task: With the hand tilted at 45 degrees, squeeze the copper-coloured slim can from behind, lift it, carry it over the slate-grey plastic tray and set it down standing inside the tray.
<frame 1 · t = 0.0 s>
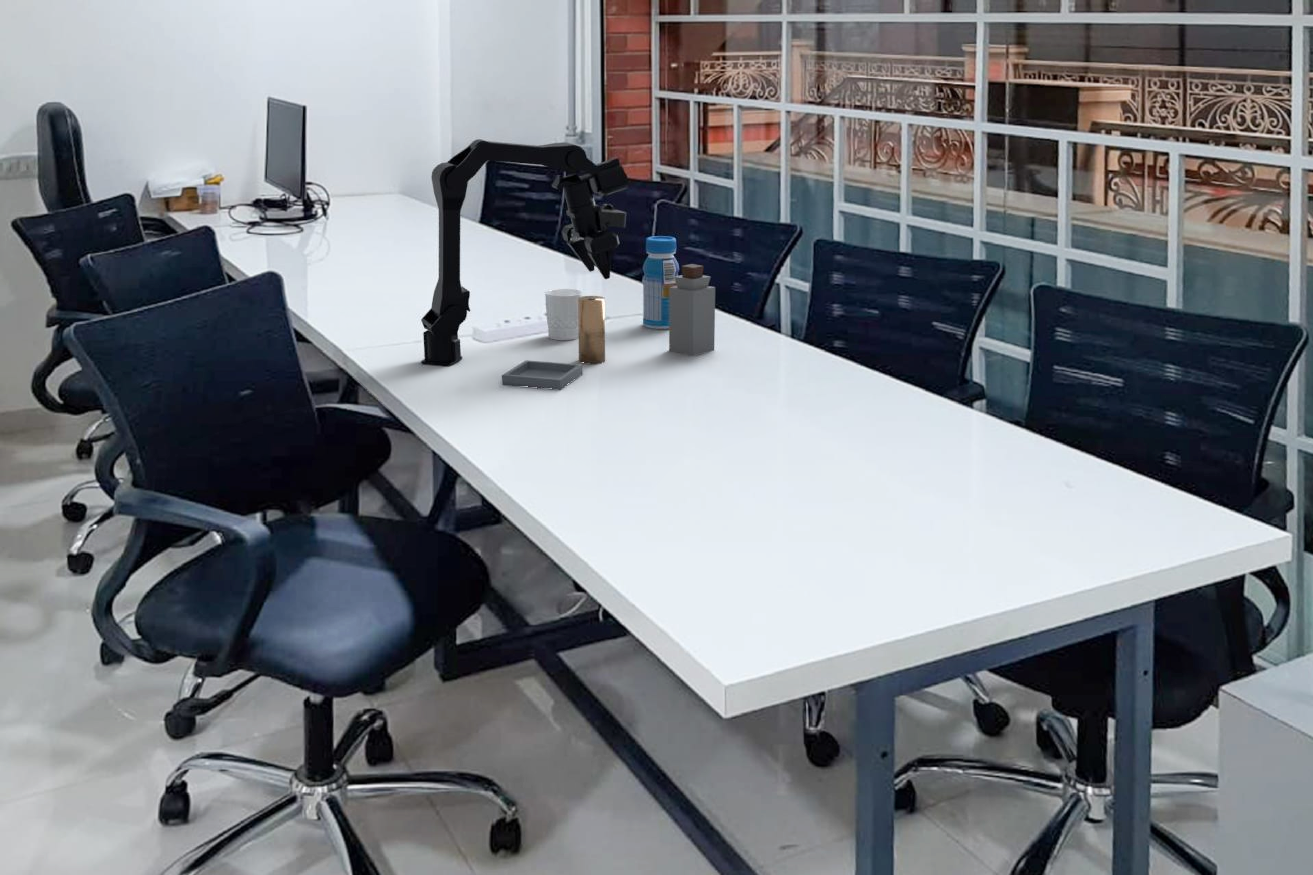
hand: (599, 274, 291), 15 cm above the table, tool pointing down, fingers open, 9 cm apart
perfume bottle: (691, 351, 292), on the table
white cup: (564, 338, 304), on the table
tray: (542, 379, 269), on the table
beverage bottle: (660, 326, 314), on the table
can: (591, 360, 283), on the table
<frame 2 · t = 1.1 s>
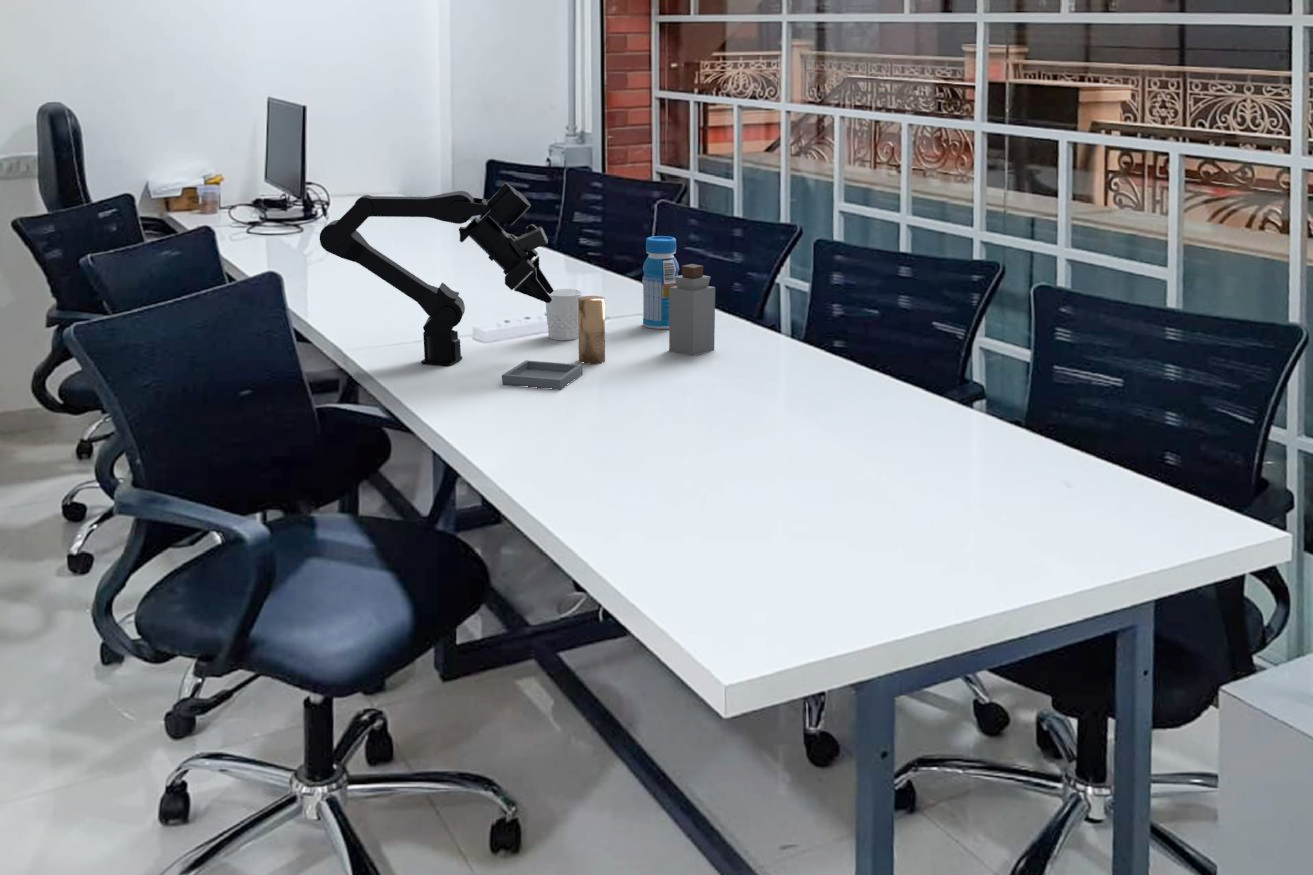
hand: (551, 296, 279), 13 cm above the table, tool tilted 45°, fingers open, 9 cm apart
nothing on the table moved.
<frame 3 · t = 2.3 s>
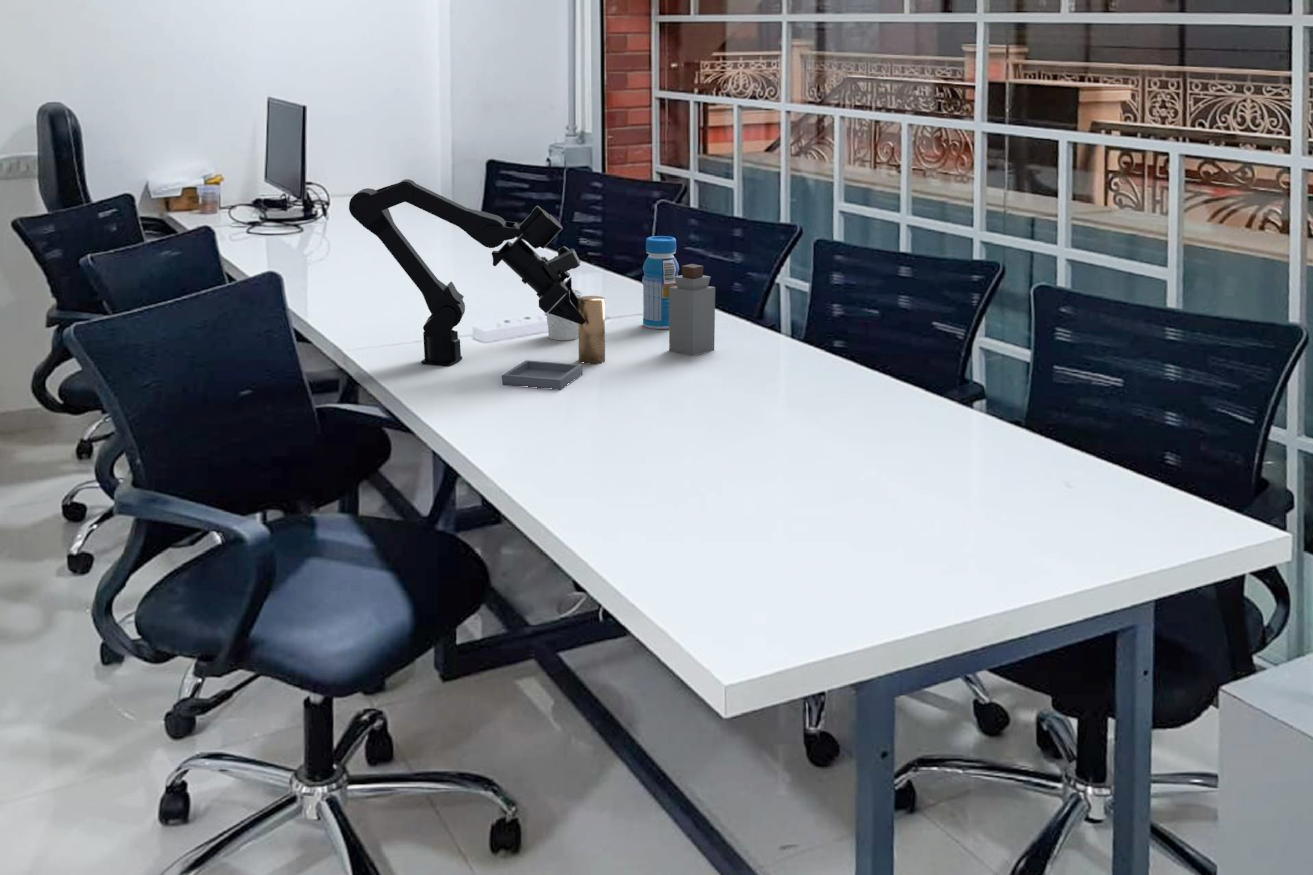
hand: (584, 318, 281), 9 cm above the table, tool tilted 45°, fingers open, 9 cm apart
nothing on the table moved.
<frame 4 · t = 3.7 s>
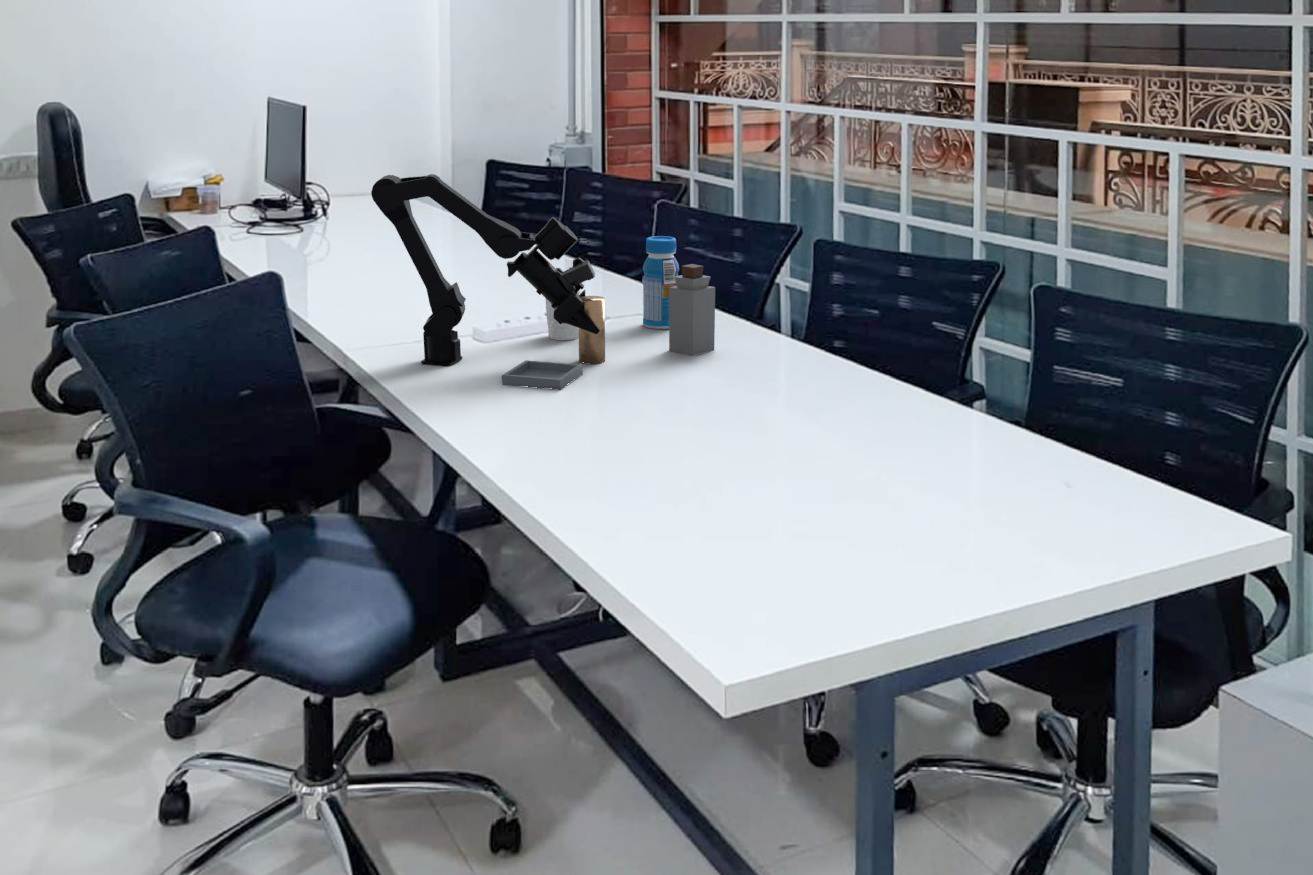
hand: (598, 329, 282), 7 cm above the table, tool tilted 45°, fingers closed on can, 5 cm apart
can: (592, 360, 283), on the table, touching gripper
everything else where it was.
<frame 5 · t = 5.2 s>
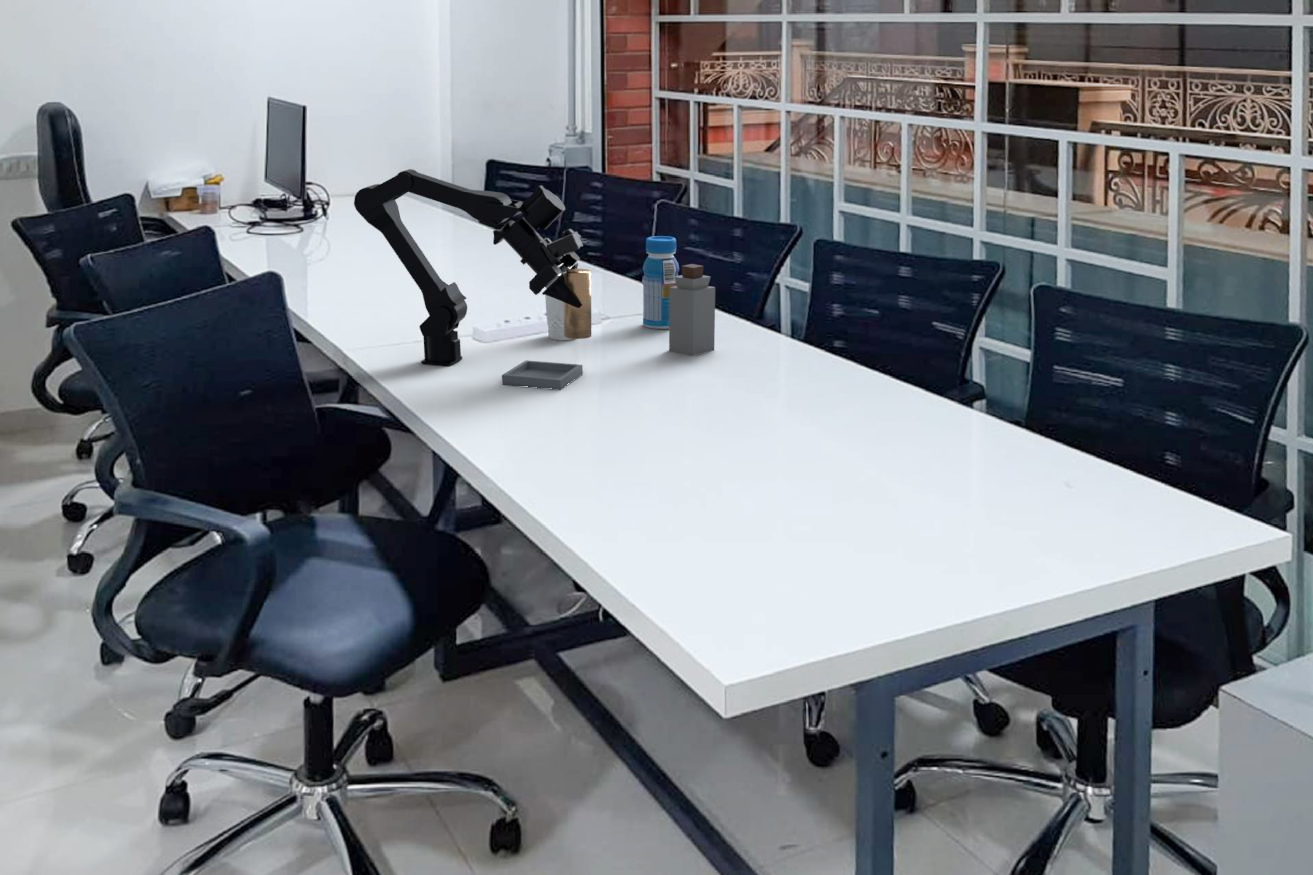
hand: (584, 303, 273), 13 cm above the table, tool tilted 45°, fingers closed on can, 5 cm apart
can: (577, 335, 275), point 7 cm above the table, touching gripper
everything else where it was.
when the fingers open (8 cm above the table, at t = 7.2 s): can drops 1 cm, resting on tray.
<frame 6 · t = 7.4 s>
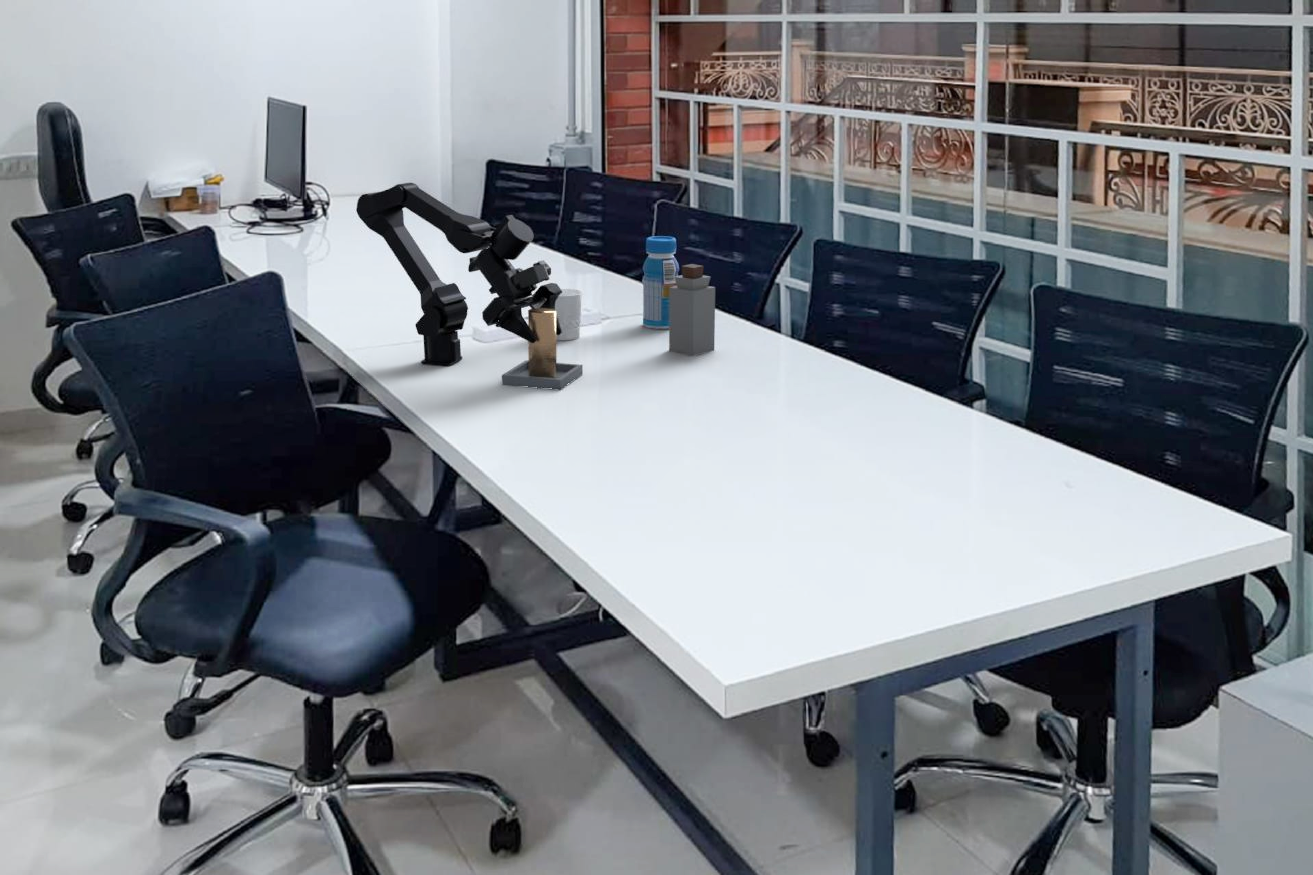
hand: (547, 337, 266), 9 cm above the table, tool tilted 45°, fingers open, 8 cm apart
can: (542, 376, 269), point 1 cm above the table, touching tray
everything else where it was.
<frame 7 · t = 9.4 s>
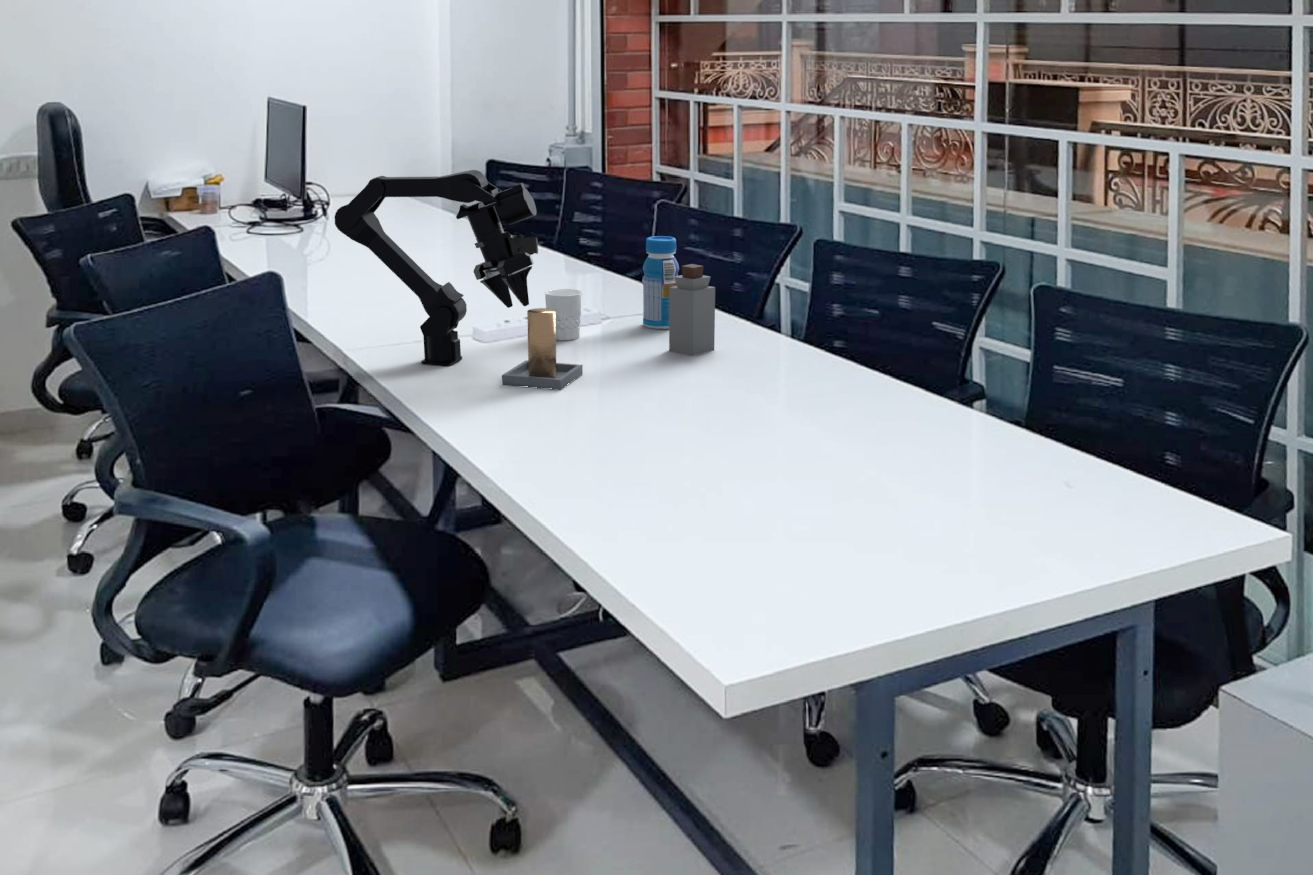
hand: (518, 306, 277), 12 cm above the table, tool tilted 20°, fingers open, 9 cm apart
nothing on the table moved.
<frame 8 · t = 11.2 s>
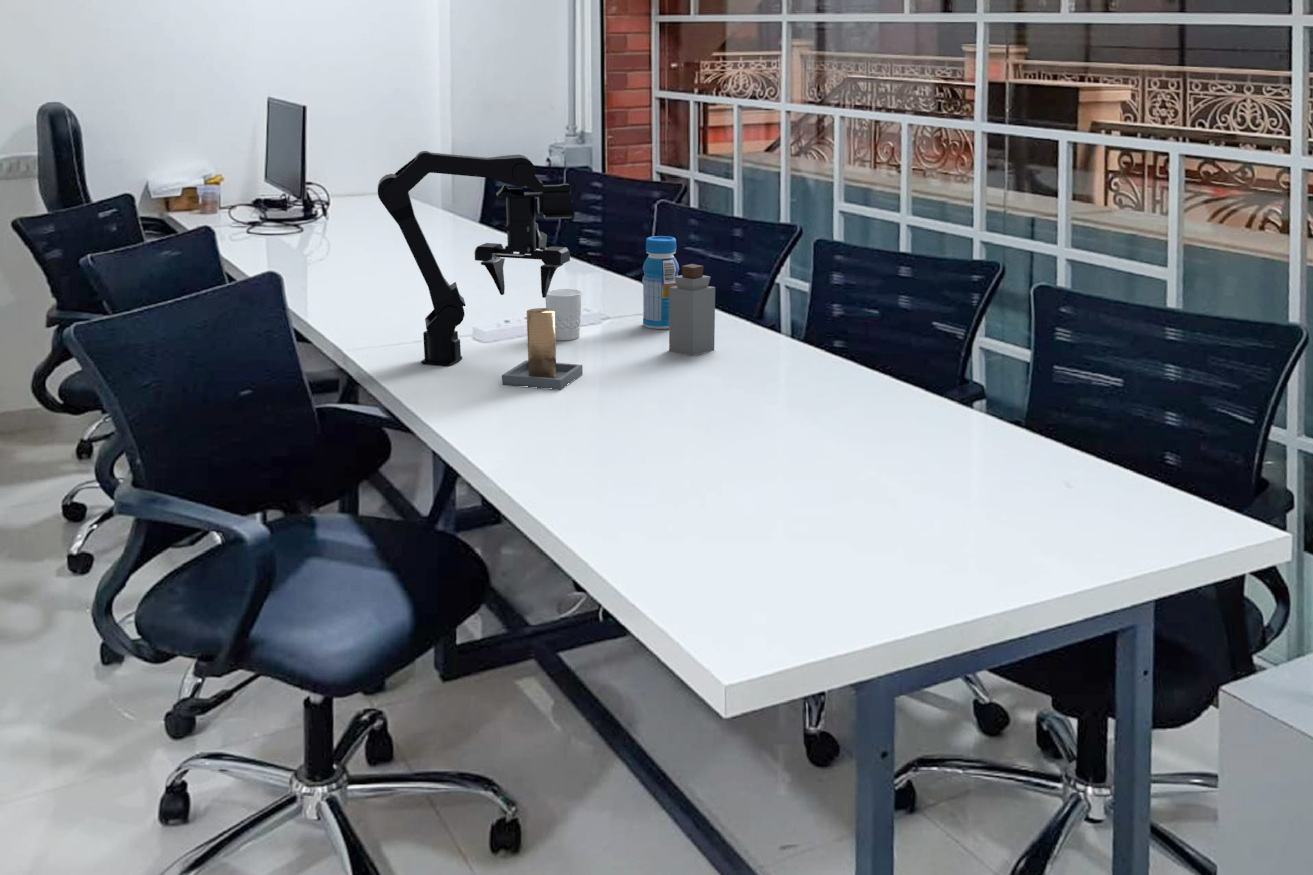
hand: (523, 296, 282), 13 cm above the table, tool pointing down, fingers open, 9 cm apart
nothing on the table moved.
at the end: can inside the target area on the tray (0.1 cm from its centre), point 0.6 cm above the tray's base; can tilted 1°; the gripper is holding nothing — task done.
